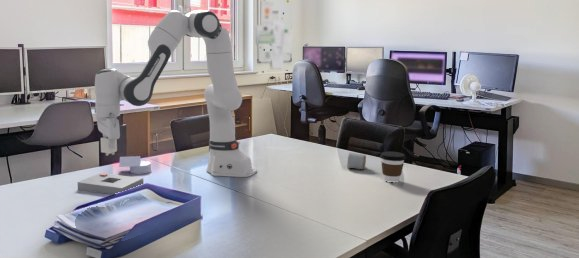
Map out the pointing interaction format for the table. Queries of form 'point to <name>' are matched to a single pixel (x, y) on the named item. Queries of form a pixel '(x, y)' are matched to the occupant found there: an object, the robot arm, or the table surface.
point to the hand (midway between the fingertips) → (109, 146)
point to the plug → (106, 148)
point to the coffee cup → (392, 165)
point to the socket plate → (109, 183)
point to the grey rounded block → (356, 160)
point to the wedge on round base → (135, 164)
